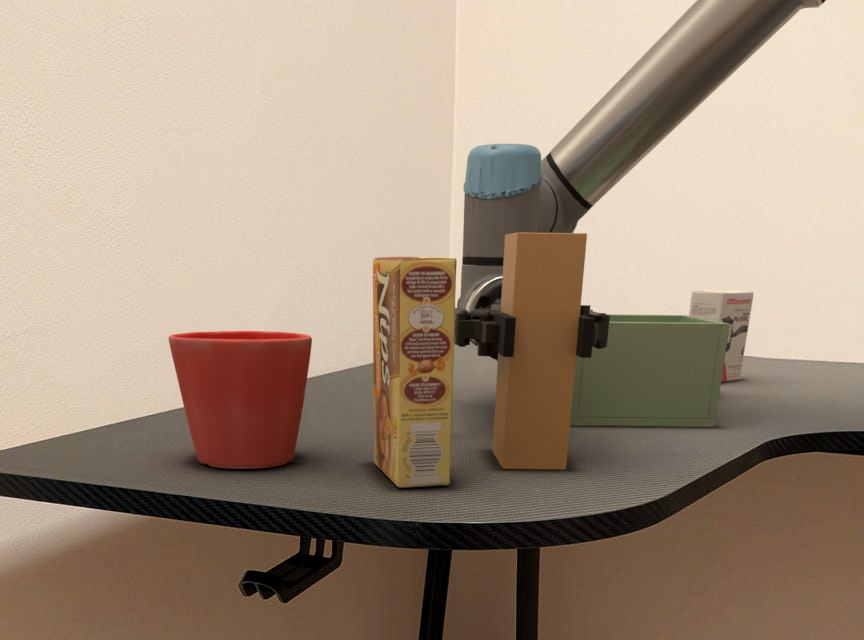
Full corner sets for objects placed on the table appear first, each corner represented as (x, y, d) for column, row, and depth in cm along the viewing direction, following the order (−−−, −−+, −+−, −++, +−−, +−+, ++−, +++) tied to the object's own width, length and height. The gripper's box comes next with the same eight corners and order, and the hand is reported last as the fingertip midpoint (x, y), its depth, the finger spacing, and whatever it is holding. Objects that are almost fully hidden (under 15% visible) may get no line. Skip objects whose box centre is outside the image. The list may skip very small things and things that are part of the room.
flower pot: (234, 442, 80) (228, 327, 76) (338, 456, 75) (337, 333, 71) (149, 463, 72) (137, 334, 68) (260, 480, 67) (254, 342, 63)
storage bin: (673, 406, 103) (685, 315, 99) (714, 427, 91) (730, 323, 87) (545, 405, 103) (552, 313, 99) (568, 425, 90) (578, 321, 87)
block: (550, 452, 78) (568, 235, 71) (566, 469, 71) (587, 233, 65) (492, 451, 78) (504, 234, 71) (502, 469, 71) (517, 232, 65)
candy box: (452, 487, 65) (462, 256, 59) (395, 490, 64) (399, 256, 59) (420, 462, 73) (426, 256, 67) (369, 464, 72) (370, 256, 66)
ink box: (712, 384, 122) (726, 290, 118) (678, 381, 125) (690, 289, 121) (741, 379, 128) (755, 289, 123) (708, 376, 131) (721, 288, 126)
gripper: (596, 359, 89) (665, 392, 67) (412, 357, 89) (423, 389, 67) (604, 277, 86) (679, 283, 64) (414, 275, 86) (426, 280, 64)
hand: (548, 337), depth 66 cm, fingers closed on block, 5 cm apart
